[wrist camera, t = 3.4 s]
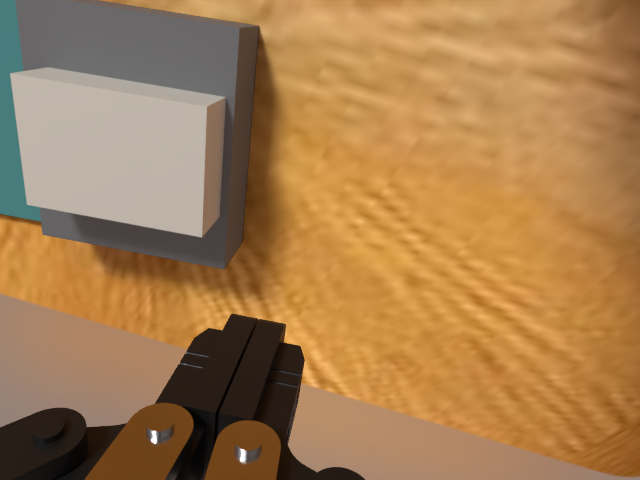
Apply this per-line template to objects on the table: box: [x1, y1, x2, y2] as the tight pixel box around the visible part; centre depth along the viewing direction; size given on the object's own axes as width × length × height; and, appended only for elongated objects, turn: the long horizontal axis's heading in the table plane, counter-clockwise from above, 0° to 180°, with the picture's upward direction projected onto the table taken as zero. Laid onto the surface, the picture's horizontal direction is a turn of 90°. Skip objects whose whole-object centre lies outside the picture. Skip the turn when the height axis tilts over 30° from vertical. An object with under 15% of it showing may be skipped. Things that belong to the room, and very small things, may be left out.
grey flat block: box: [15, 0, 259, 269], centre depth 30 cm, size 12×14×4 cm
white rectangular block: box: [10, 67, 226, 237], centre depth 27 cm, size 10×7×3 cm
